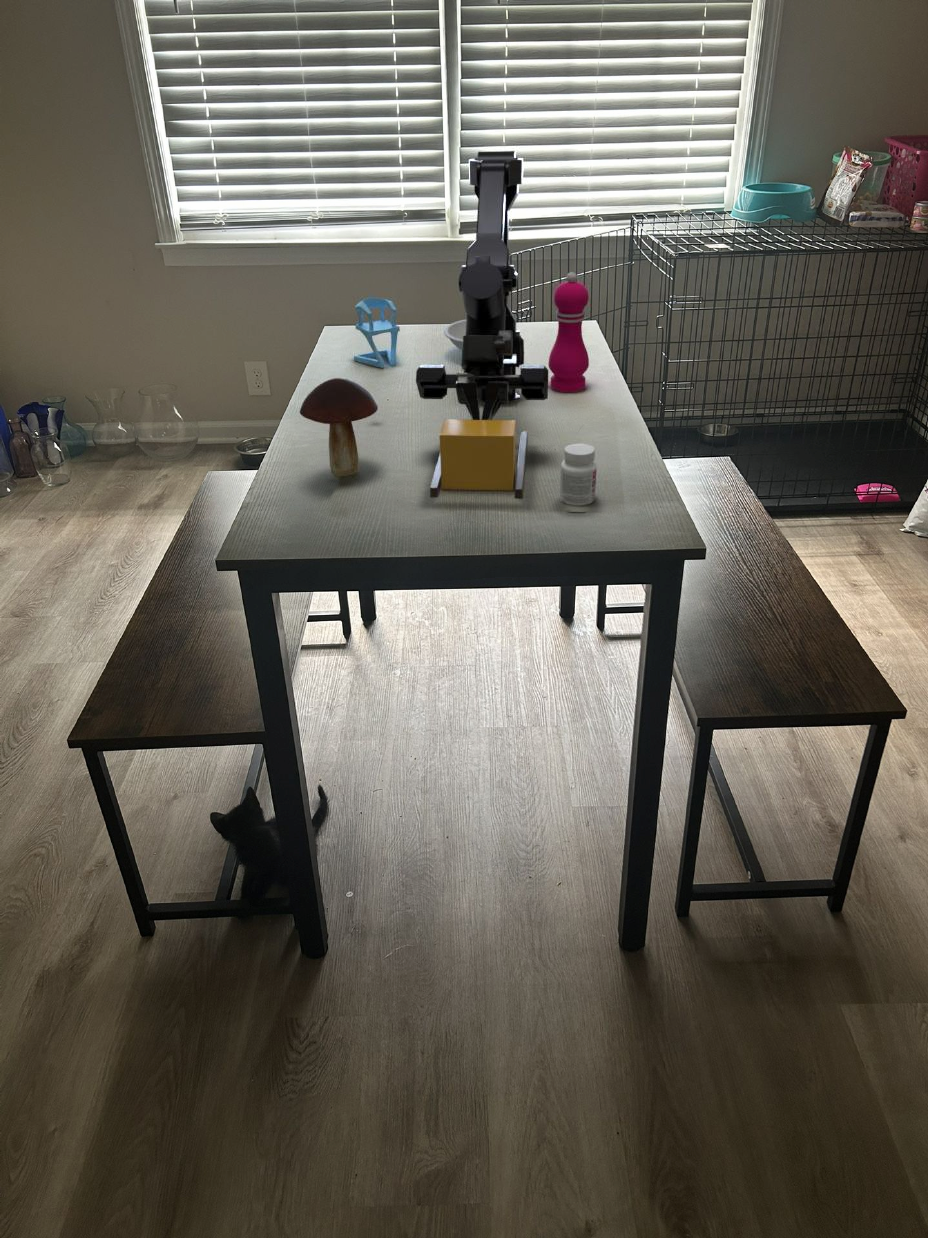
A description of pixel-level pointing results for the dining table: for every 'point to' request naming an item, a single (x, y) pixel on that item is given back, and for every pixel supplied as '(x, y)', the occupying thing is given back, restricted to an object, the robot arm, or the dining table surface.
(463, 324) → the dish
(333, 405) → the decorative mushroom
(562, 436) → the dining table surface
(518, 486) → the maple track
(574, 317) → the pepper mill
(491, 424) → the ochre block
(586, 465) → the pill bottle
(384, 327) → the chair
